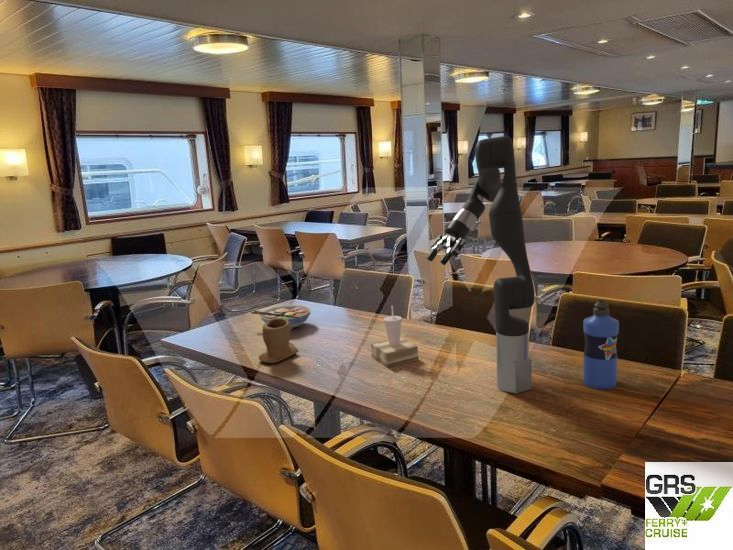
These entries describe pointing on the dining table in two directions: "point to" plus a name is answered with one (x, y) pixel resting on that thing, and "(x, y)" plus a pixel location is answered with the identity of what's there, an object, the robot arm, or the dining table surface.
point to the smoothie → (393, 329)
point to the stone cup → (277, 341)
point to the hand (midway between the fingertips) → (435, 261)
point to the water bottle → (600, 348)
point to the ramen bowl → (286, 313)
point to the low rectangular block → (394, 352)
